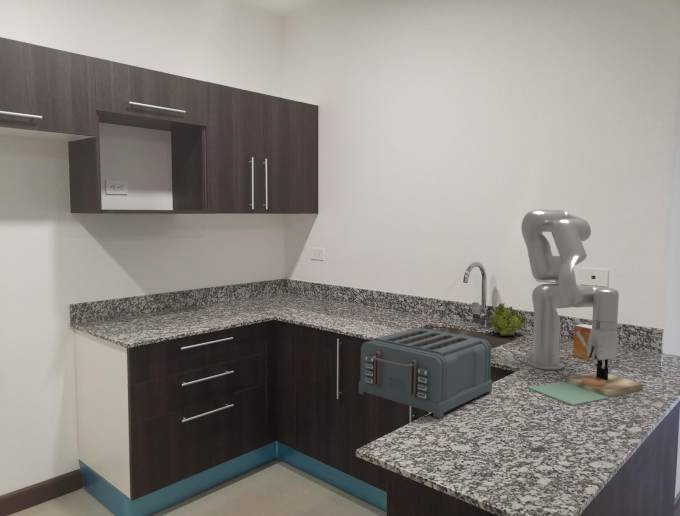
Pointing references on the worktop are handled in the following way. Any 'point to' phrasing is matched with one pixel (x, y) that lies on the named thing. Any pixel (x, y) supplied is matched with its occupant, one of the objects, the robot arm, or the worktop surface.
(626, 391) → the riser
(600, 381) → the brown round disc
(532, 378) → the worktop surface
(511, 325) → the lettuce head
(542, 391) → the mat
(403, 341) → the toaster
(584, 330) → the small box
